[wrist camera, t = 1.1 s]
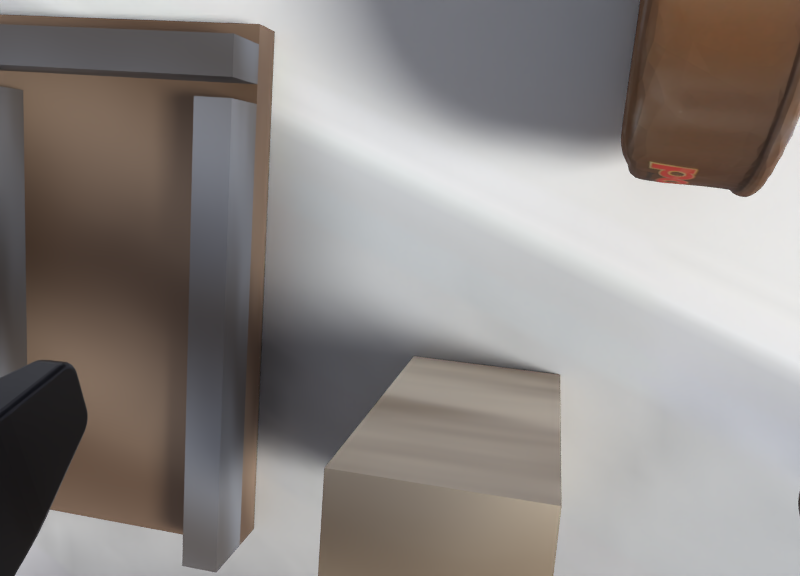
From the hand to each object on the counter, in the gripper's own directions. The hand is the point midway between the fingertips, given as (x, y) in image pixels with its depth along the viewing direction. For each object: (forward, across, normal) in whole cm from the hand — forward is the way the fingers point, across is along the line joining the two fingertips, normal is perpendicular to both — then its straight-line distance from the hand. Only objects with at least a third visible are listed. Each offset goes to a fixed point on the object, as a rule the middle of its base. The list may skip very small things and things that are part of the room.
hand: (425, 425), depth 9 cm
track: (+11, +11, +5) cm, 16 cm away
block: (+9, -1, +8) cm, 12 cm away
